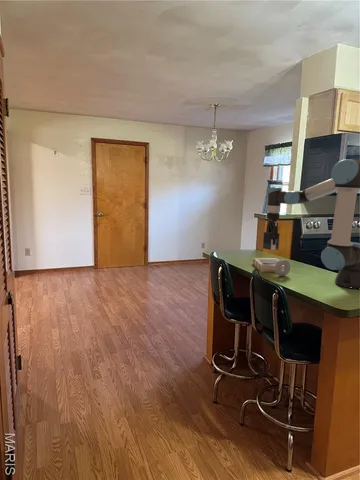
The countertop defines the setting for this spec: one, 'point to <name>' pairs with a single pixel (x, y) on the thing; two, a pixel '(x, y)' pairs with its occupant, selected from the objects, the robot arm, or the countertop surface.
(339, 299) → the countertop surface
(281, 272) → the grey wheel
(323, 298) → the countertop surface
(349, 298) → the countertop surface
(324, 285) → the countertop surface
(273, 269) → the stack base
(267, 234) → the box
